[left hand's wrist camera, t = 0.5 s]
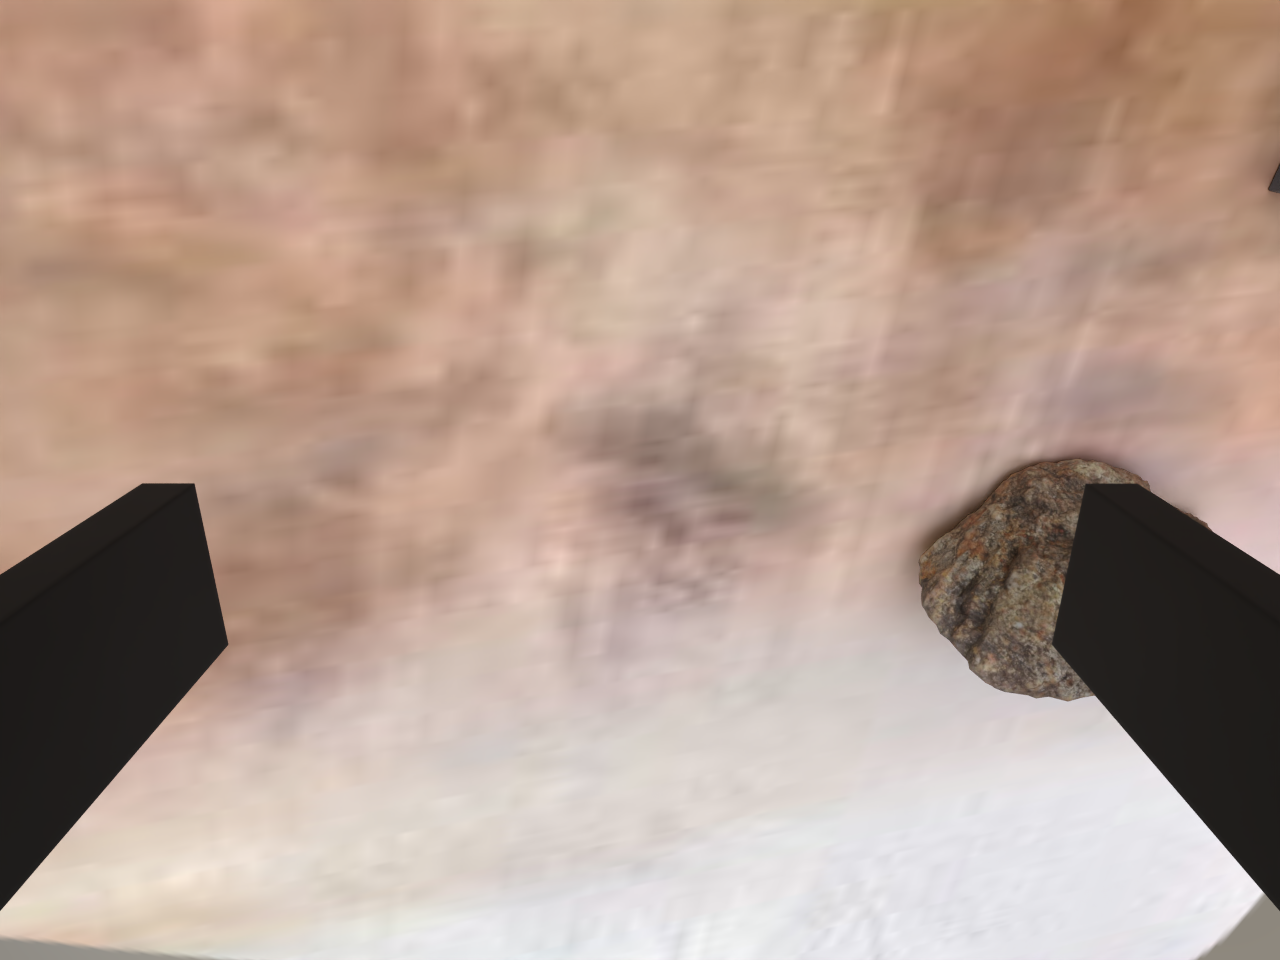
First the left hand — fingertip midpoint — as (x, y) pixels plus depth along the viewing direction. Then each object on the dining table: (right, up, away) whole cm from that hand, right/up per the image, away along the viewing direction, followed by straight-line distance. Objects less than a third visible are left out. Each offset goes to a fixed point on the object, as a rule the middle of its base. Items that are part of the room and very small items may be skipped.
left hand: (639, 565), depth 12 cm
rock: (+21, -2, +30) cm, 37 cm away
